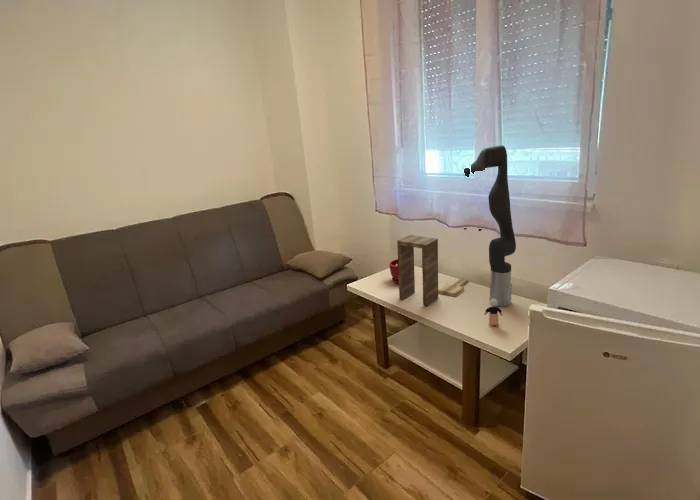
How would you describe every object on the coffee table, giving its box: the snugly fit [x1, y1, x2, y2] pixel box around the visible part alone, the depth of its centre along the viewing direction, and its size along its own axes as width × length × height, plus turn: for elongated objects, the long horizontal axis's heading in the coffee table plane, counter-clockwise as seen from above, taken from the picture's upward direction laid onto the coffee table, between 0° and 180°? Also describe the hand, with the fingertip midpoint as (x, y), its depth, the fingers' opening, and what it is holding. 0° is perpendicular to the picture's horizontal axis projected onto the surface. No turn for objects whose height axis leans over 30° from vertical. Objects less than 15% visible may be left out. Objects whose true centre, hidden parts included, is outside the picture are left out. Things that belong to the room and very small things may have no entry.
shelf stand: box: [396, 234, 439, 307], centre depth 205 cm, size 16×12×32 cm
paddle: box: [438, 277, 469, 298], centre depth 219 cm, size 10×22×2 cm, turn 140°
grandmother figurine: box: [483, 299, 504, 328], centre depth 175 cm, size 8×4×13 cm, turn 92°
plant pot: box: [389, 258, 399, 285], centre depth 232 cm, size 13×13×12 cm
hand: (472, 230), depth 225 cm, fingers open, 8 cm apart
